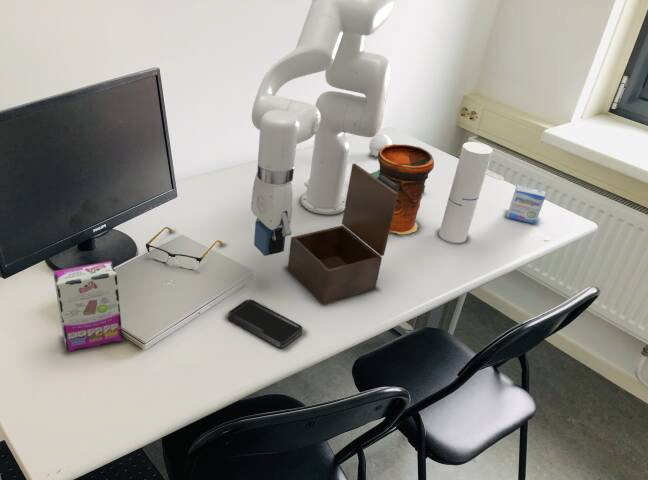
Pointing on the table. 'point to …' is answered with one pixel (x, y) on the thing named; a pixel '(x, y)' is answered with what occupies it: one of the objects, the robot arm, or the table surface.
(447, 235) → the cylindrical container
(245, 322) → the phone
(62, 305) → the candy bar box
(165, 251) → the eyeglasses
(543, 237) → the table surface
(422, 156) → the vessel
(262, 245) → the block
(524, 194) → the medicine box
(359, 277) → the chest
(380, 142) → the white rounded piece
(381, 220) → the lid
